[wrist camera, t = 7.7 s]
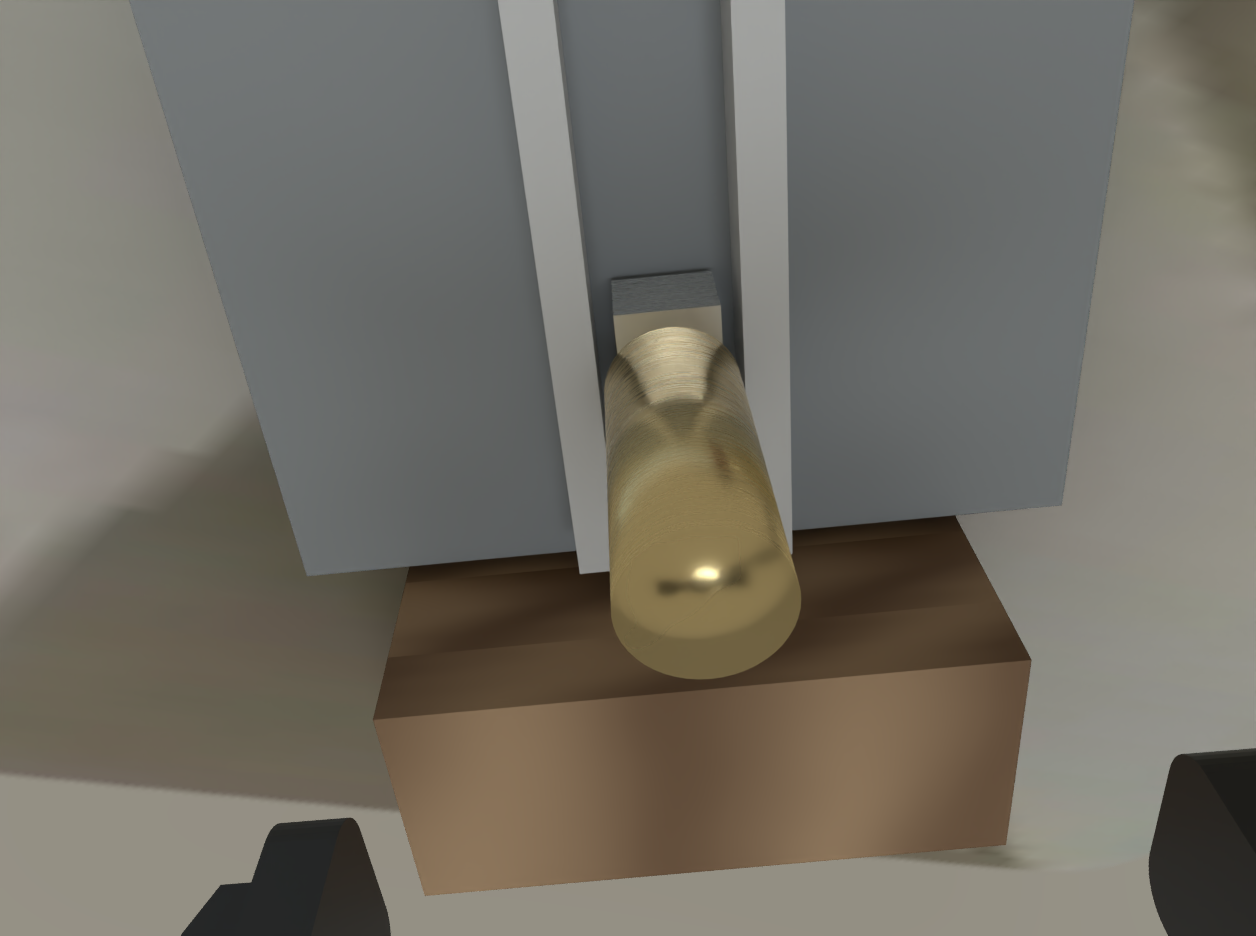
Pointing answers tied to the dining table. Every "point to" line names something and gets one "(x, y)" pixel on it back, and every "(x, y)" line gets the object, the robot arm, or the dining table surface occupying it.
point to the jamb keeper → (702, 720)
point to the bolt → (689, 491)
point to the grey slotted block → (642, 245)
